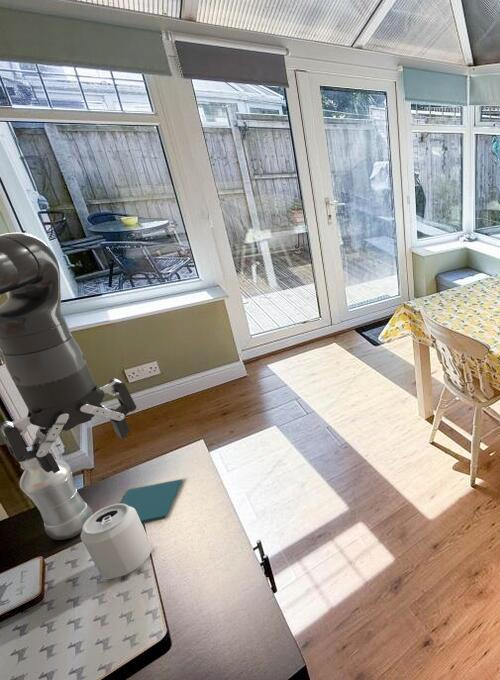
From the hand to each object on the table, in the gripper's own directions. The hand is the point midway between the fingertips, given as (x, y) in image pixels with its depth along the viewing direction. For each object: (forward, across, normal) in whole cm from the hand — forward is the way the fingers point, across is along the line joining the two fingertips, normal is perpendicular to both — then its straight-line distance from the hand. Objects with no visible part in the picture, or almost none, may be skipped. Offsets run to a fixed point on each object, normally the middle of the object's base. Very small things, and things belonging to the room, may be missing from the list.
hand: (90, 452), depth 68 cm
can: (+27, +1, -2) cm, 27 cm away
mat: (+27, -7, -14) cm, 31 cm away
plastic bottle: (+27, +3, -19) cm, 33 cm away
